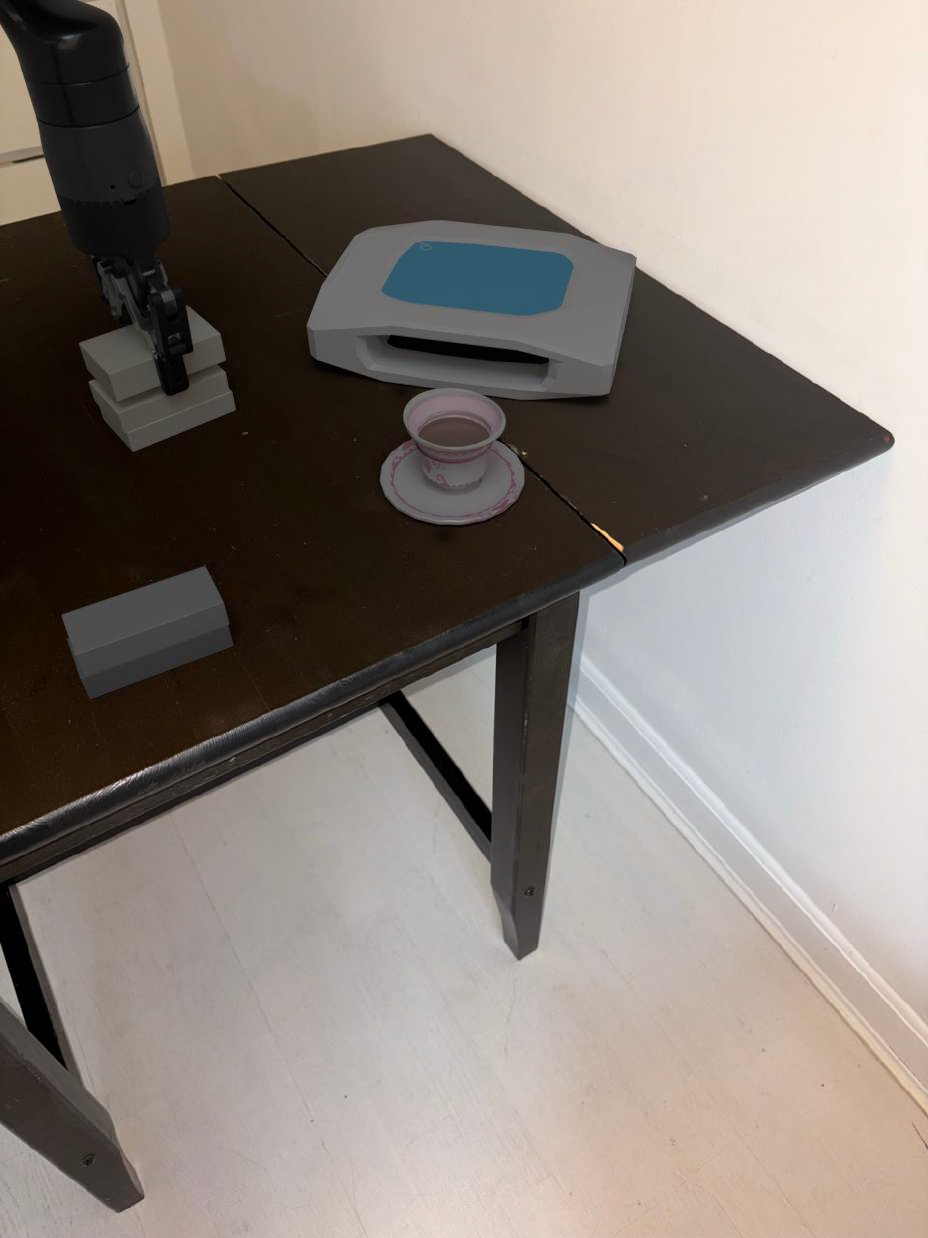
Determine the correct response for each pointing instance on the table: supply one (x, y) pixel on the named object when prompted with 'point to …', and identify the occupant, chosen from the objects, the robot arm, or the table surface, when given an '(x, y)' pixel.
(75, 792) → the table surface
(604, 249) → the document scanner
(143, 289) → the robot arm
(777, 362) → the table surface
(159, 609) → the gray block
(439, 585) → the table surface
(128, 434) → the grey block
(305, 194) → the table surface
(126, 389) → the light grey rectangular block
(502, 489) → the teacup
